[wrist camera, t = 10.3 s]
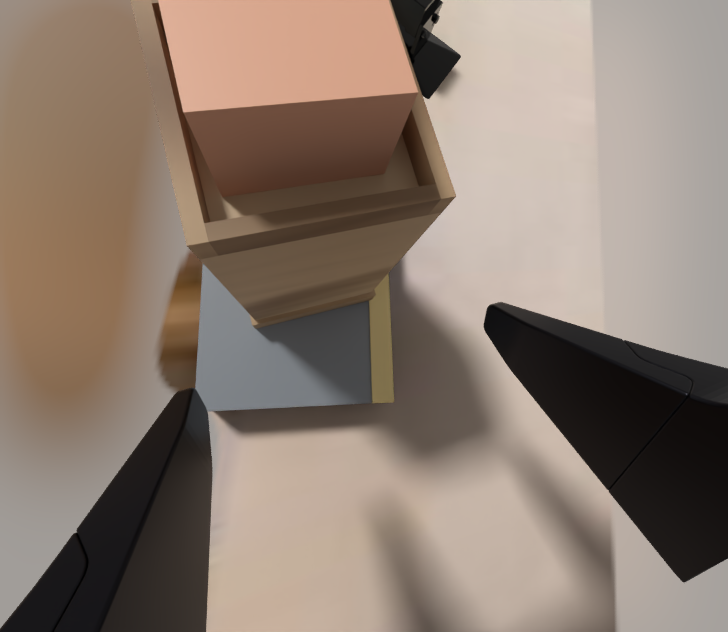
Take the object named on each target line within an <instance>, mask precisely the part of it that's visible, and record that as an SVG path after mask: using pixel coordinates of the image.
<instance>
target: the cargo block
mask: <svg viewBox="0 0 728 632" xmlns="http://www.w3.org/2000/svg"><path fill="white" fill-rule="evenodd" d="M158 2H159V7H160V11H161V16H162V20H163V24H164V29H165V33H166V38H167V42H168V47H169V51H170V56H171V60H172V64H173V69H174V73H175V78H176V82H177V87H178V91H179V96H180V100H181V104H182V109H183V113H184V115H185V117H186V119H187V122H188V124H189V126H190V128H191V130H192V132H193V135H194V137H195V139H196V141H197V143H198V146H199V148H200V150H201V152H202V154H203V157H204V159H205V161H206V163H207V165H208V167H209V170H210V172H211V174H212V176H213V178H214V181H215V183H216V185H217V187H218V189H219V191H220V194H221V196H222V197H227V196H234V195H241V194H248V193H255V192H262V191H269V190H276V189H283V188H290V187H297V186H303V185H310V184H317V183H324V182H331V181H338V180H345V179H352V178H359V177H366V176H373V175H380V174H384V173H385V171H386V168H387V166H388V164H389V161H390V159H391V156H392V154H393V152H394V149H395V147H396V144H397V142H398V140H399V137H400V135H401V132H402V130H403V128H404V125H405V123H406V120H407V118H408V116H409V113H410V111H411V108H412V106H413V104H414V101H415V99H416V97H417V94H418V90H417V87H416V84H415V80H414V77H413V74H412V71H411V68H410V65H409V62H408V59H407V56H406V53H405V49H404V46H403V43H402V40H401V37H400V34H399V31H398V28H397V25H396V21H395V18H394V15H393V12H392V9H391V6H390V3H389V0H158Z"/></svg>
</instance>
